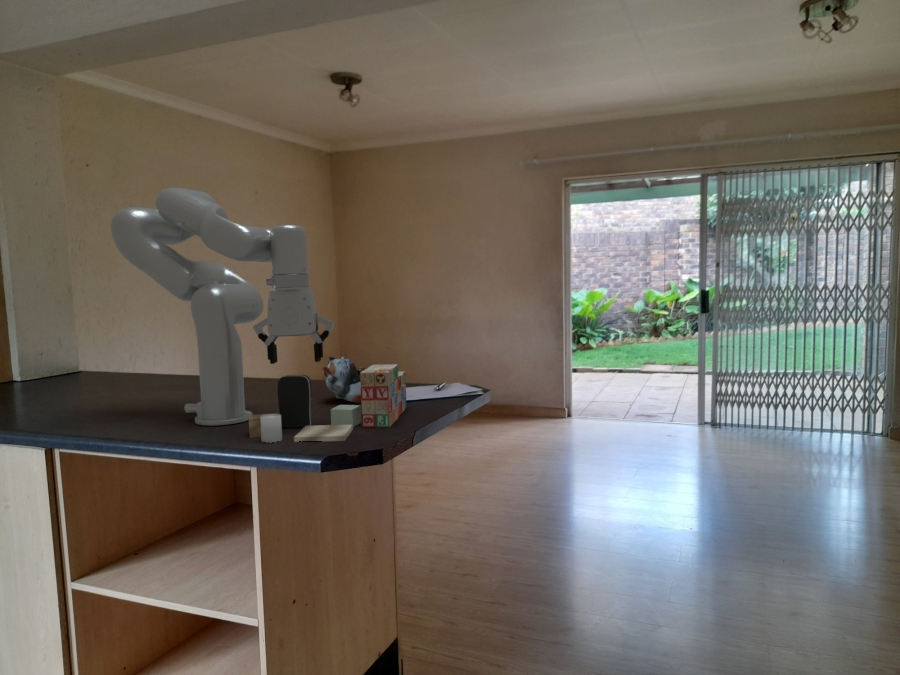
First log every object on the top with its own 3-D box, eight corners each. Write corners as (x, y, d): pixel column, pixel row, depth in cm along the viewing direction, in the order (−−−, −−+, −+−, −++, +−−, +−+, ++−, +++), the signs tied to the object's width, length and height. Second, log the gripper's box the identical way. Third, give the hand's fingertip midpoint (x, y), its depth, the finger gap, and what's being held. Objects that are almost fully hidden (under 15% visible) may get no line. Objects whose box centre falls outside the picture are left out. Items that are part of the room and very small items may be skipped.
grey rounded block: (258, 443, 121) (257, 418, 121) (264, 438, 125) (263, 413, 125) (279, 442, 121) (277, 417, 121) (284, 437, 125) (283, 413, 125)
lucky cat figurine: (371, 404, 158) (343, 359, 155) (334, 420, 162) (306, 376, 159) (388, 379, 172) (362, 337, 168) (353, 394, 176) (328, 353, 172)
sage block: (331, 427, 134) (330, 409, 134) (340, 422, 139) (339, 404, 139) (352, 427, 133) (352, 409, 133) (361, 422, 138) (360, 405, 138)
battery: (314, 424, 137) (312, 373, 136) (310, 428, 133) (308, 375, 132) (283, 424, 137) (281, 374, 136) (278, 428, 133) (276, 376, 132)
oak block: (249, 438, 126) (248, 419, 125) (249, 434, 129) (248, 415, 129) (270, 436, 127) (269, 417, 127) (269, 432, 131) (268, 413, 130)
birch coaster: (294, 442, 121) (293, 437, 121) (306, 430, 131) (305, 425, 131) (344, 440, 121) (344, 435, 121) (352, 429, 131) (352, 424, 131)
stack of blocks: (382, 408, 154) (380, 359, 153) (407, 408, 154) (405, 359, 153) (361, 427, 133) (359, 371, 132) (390, 427, 132) (388, 371, 131)
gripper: (245, 285, 129) (250, 366, 130) (327, 281, 129) (332, 362, 130) (256, 285, 136) (261, 362, 138) (334, 282, 136) (338, 358, 137)
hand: (296, 362), depth 134 cm, fingers open, 9 cm apart
